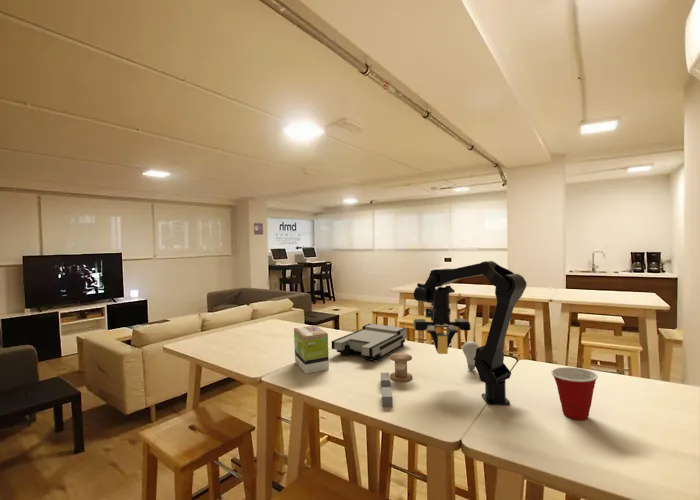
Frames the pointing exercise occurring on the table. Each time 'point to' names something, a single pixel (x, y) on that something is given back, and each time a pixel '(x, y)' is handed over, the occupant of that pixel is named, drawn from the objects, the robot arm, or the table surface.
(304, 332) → the tea box
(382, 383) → the grey square bar
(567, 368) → the plastic cup
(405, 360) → the bobbin
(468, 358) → the lightbulb
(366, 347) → the game console
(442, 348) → the tab block
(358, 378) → the table surface
